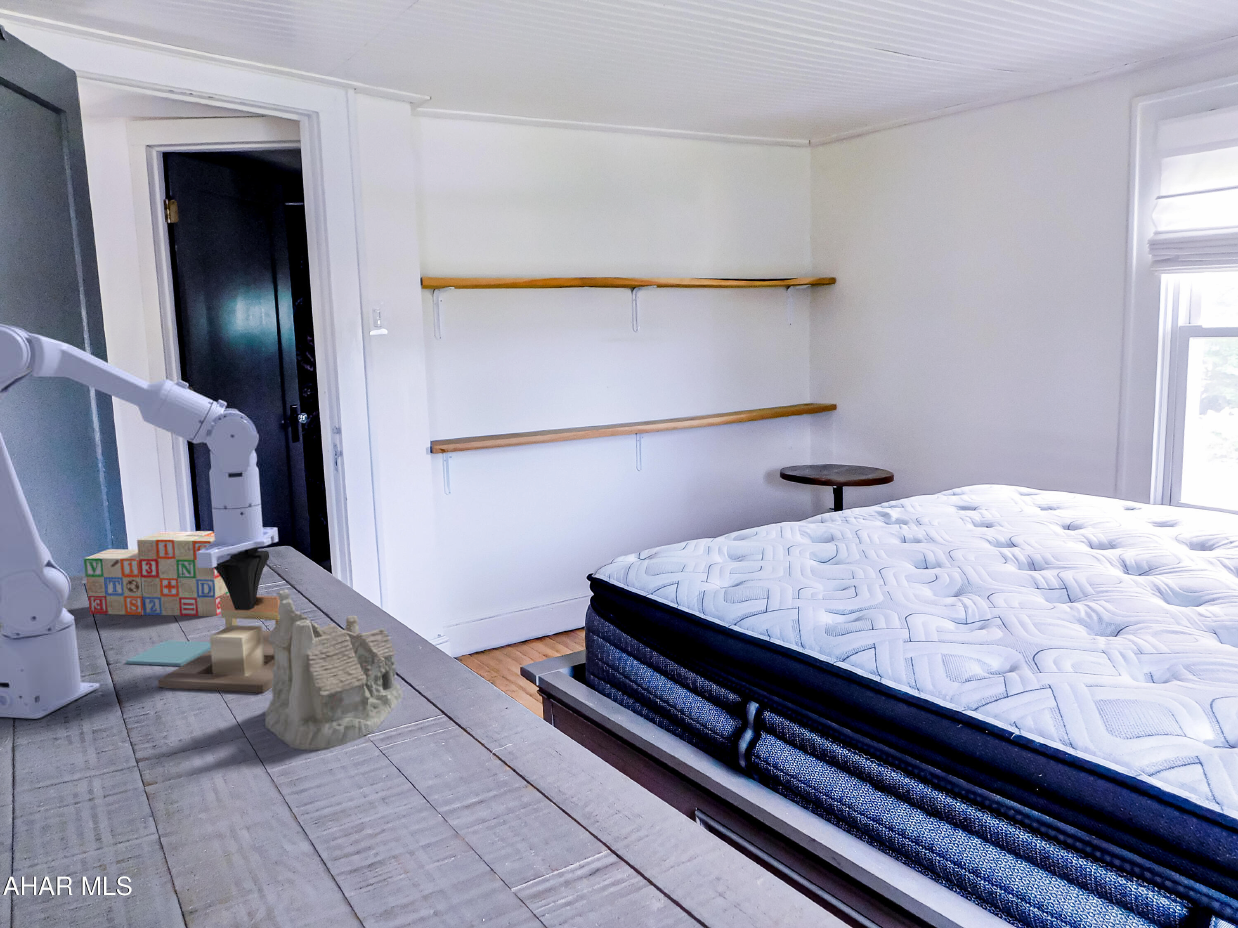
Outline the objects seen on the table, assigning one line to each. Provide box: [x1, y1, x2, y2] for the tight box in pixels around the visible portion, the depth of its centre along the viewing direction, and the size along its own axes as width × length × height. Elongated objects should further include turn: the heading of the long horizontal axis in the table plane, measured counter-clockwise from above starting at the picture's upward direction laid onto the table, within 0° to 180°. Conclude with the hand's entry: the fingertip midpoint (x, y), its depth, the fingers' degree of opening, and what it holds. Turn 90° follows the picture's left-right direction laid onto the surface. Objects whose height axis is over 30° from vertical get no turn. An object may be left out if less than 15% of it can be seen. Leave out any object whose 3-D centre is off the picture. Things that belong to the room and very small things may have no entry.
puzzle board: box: [157, 629, 275, 694], centre depth 114 cm, size 19×14×1 cm
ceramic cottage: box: [264, 588, 404, 752], centre depth 97 cm, size 16×16×15 cm
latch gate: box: [220, 594, 280, 628], centre depth 115 cm, size 2×8×8 cm, turn 81°
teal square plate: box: [125, 640, 211, 667], centre depth 118 cm, size 8×8×1 cm
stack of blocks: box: [83, 530, 229, 617], centre depth 138 cm, size 21×6×12 cm, turn 85°
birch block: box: [209, 624, 266, 676], centre depth 111 cm, size 4×4×6 cm
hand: (244, 608), depth 112 cm, fingers closed
